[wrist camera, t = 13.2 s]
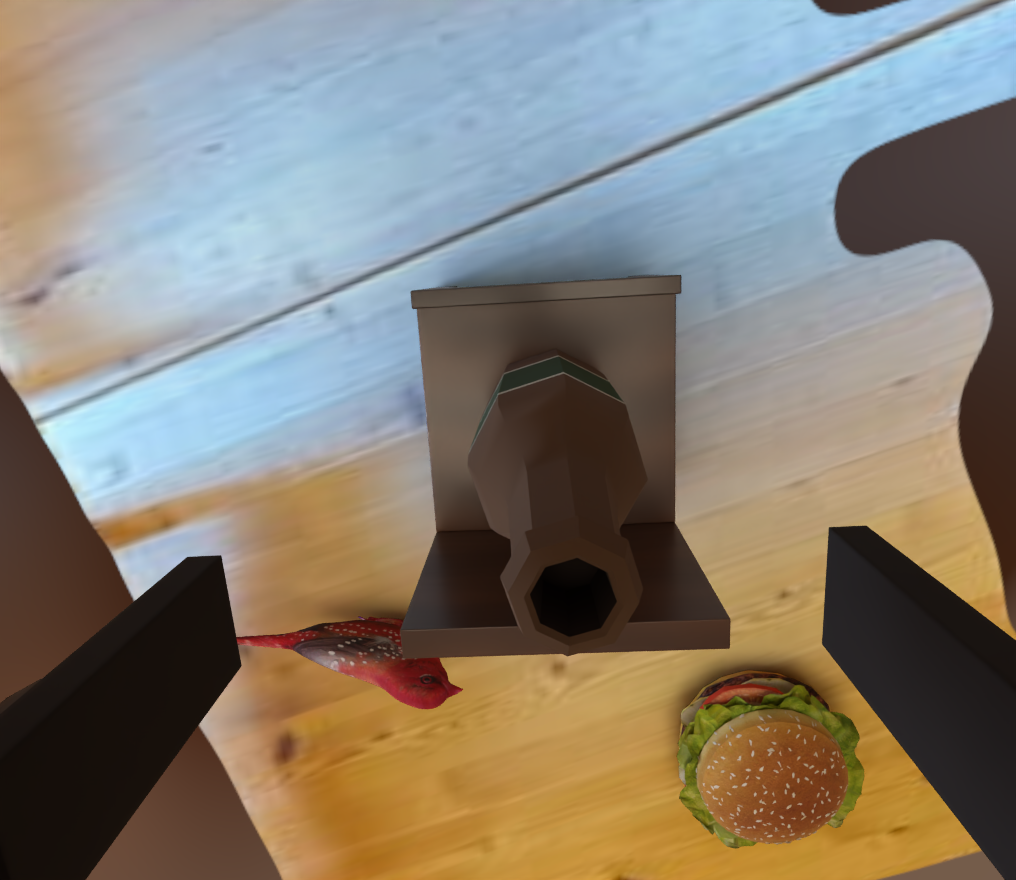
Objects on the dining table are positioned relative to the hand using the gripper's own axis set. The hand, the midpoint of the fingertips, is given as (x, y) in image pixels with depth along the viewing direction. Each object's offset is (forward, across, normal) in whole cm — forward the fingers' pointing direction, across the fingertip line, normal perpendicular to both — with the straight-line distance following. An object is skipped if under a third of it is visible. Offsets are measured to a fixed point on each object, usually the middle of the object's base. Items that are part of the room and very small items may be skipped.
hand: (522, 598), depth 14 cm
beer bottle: (+26, +1, -2) cm, 26 cm away
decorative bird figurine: (+35, -14, -19) cm, 43 cm away
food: (+35, +17, -32) cm, 50 cm away
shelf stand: (+35, +1, -2) cm, 35 cm away
